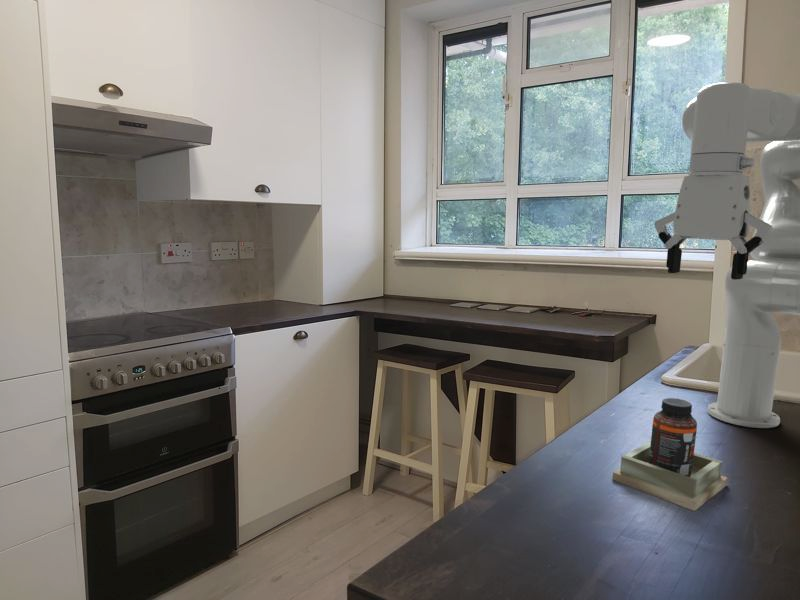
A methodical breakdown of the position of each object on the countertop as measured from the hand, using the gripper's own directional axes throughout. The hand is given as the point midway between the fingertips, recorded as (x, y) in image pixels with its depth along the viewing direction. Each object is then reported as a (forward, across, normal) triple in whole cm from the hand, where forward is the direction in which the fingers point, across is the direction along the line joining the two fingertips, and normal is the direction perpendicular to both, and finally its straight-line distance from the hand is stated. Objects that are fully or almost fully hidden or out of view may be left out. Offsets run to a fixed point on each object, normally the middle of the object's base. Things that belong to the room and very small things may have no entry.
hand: (704, 275), depth 94 cm
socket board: (+30, -3, +13) cm, 33 cm away
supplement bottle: (+29, -3, +13) cm, 32 cm away
